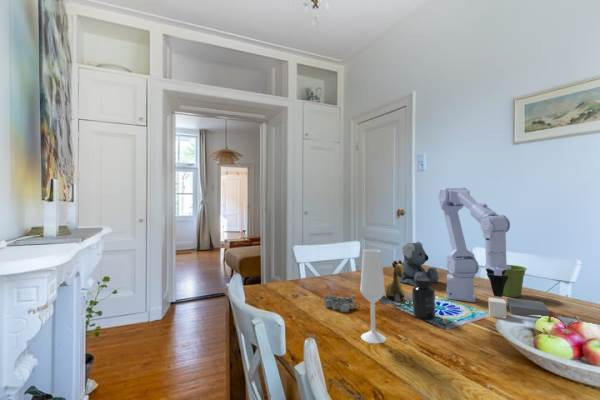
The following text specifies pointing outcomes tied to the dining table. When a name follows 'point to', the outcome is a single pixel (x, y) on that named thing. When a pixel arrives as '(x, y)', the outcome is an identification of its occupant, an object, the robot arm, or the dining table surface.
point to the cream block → (497, 307)
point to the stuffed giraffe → (395, 287)
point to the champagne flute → (372, 288)
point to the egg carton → (339, 303)
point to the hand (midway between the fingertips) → (496, 293)
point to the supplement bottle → (423, 299)
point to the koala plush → (416, 264)
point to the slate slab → (527, 307)
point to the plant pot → (514, 281)
